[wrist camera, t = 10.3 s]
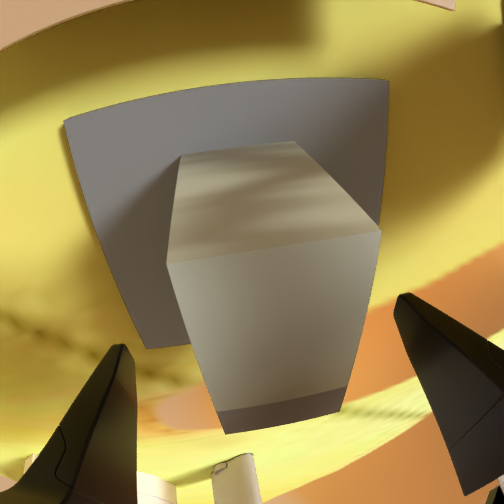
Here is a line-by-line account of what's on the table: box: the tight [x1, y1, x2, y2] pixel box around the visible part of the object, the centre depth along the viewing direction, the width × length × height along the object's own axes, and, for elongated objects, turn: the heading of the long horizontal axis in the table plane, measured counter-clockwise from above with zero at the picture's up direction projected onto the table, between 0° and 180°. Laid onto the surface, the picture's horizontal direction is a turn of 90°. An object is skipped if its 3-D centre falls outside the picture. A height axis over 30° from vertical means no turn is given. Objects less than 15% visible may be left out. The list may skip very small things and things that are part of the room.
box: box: [166, 141, 382, 434], centre depth 11 cm, size 4×8×7 cm, turn 5°
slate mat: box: [63, 78, 389, 349], centre depth 14 cm, size 13×13×1 cm
